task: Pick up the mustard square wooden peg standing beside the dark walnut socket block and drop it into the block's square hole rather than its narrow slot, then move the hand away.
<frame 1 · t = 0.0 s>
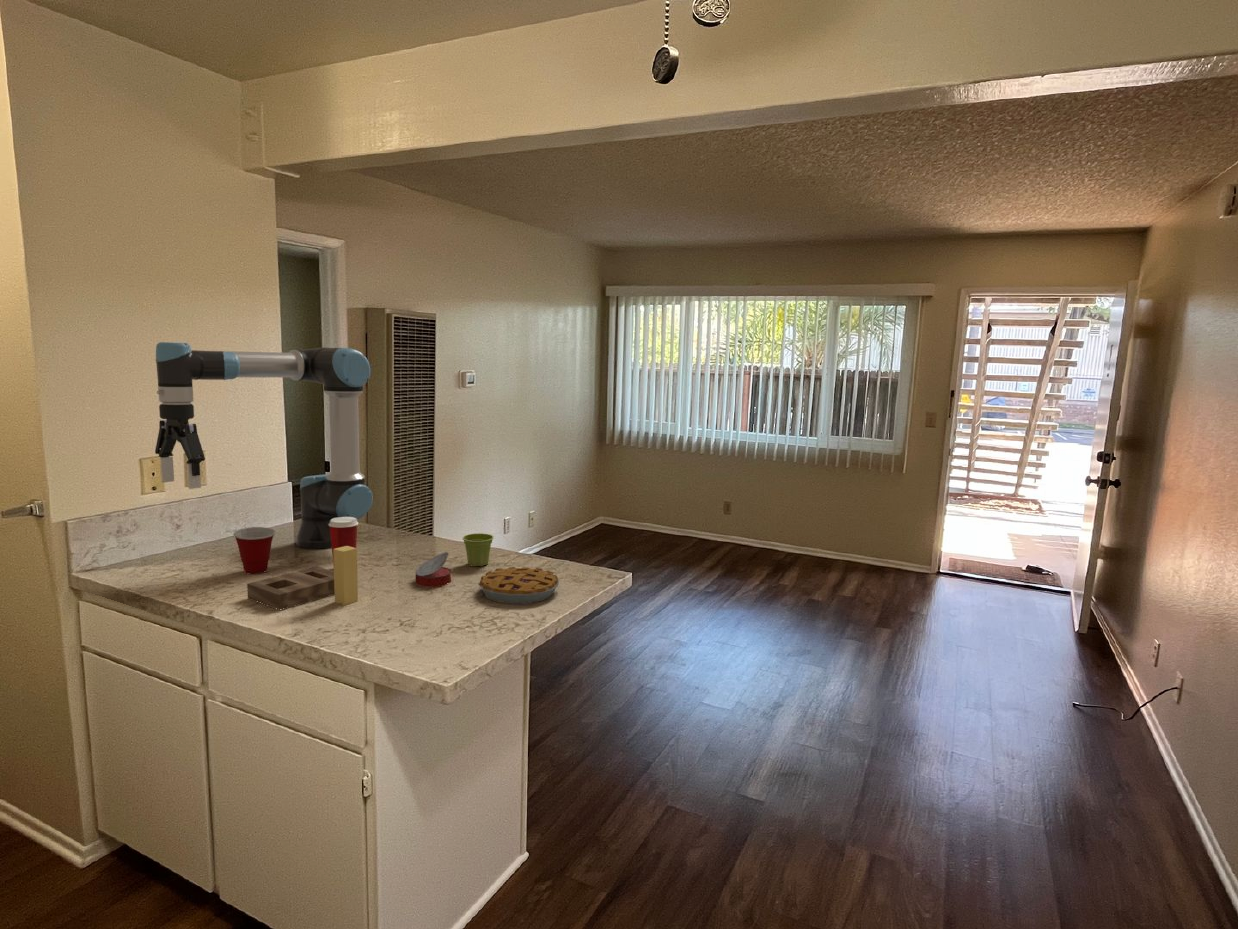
hand: (181, 485, 184), 28 cm above the worktop, tool pointing down, fingers open, 13 cm apart
socket block: (299, 594, 187), on the worktop
canned food: (433, 582, 201), on the worktop
coffee cup: (344, 569, 210), on the worktop
plant pot: (478, 565, 219), on the worktop
plastic cup: (256, 572, 205), on the worktop
square peg: (346, 601, 183), on the worktop
pie: (519, 593, 194), on the worktop
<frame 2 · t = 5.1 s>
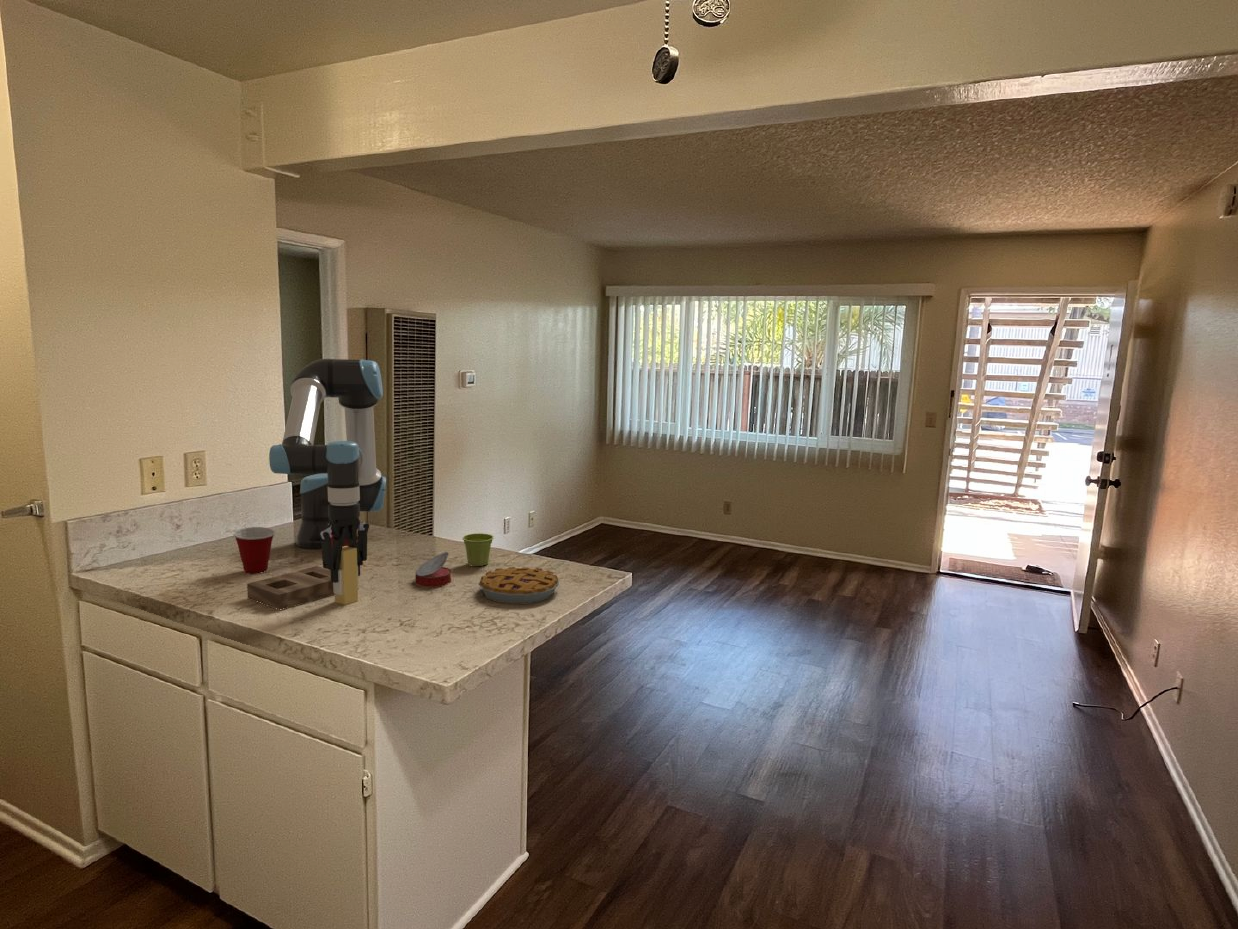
hand: (346, 591, 182), 3 cm above the worktop, tool pointing down, fingers closed on square peg, 4 cm apart
square peg: (346, 601, 183), on the worktop, touching gripper
everything else where it was.
when the fingers open (6 cm above the worktop, at t = 11.0 s): square peg drops 3 cm, resting in socket block.
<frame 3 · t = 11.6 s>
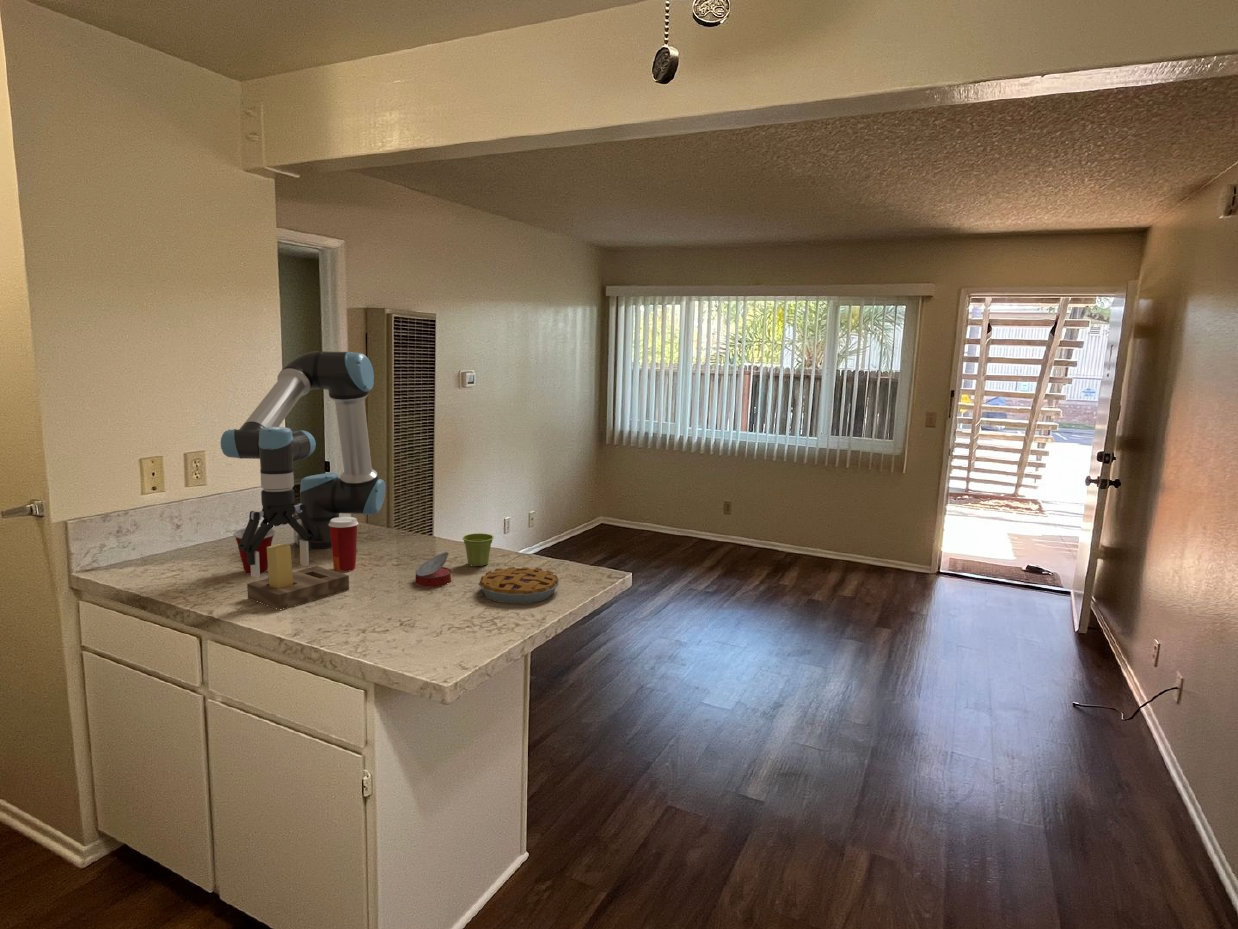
hand: (280, 570, 182), 8 cm above the worktop, tool pointing down, fingers open, 13 cm apart
square peg: (282, 598, 183), resting in socket block
everything else where it was.
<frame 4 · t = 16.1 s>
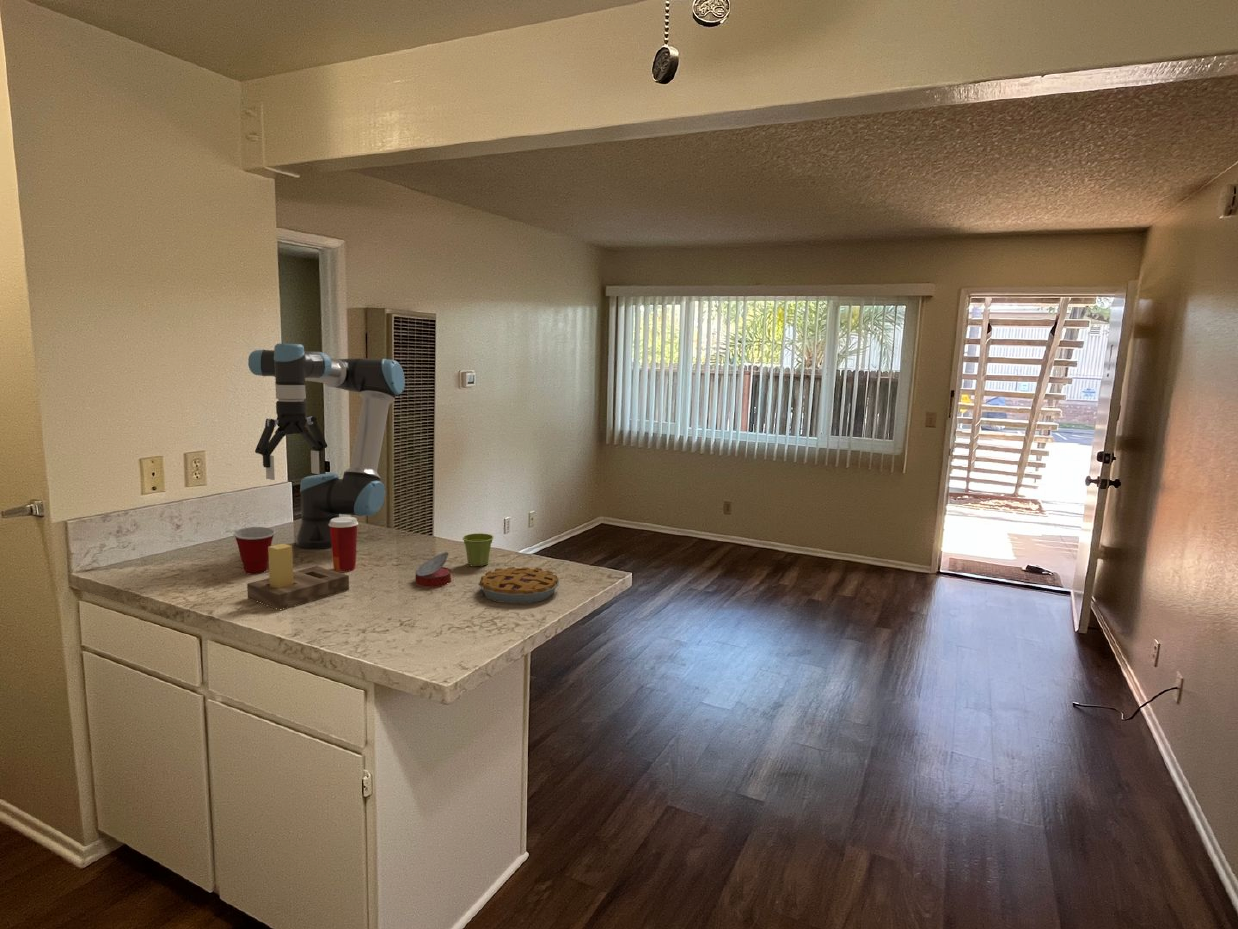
hand: (293, 476, 198), 29 cm above the worktop, tool pointing down, fingers open, 13 cm apart
nothing on the worktop moved.
at the end: square peg 0.1 cm from the target spot on the socket block, point 0.0 cm above the socket block's base; square peg tilted 0°; the gripper is holding nothing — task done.
